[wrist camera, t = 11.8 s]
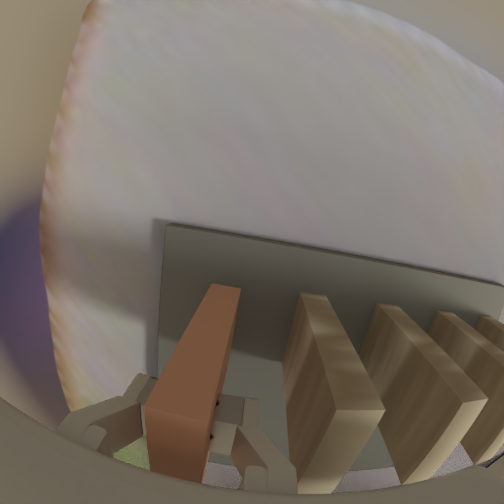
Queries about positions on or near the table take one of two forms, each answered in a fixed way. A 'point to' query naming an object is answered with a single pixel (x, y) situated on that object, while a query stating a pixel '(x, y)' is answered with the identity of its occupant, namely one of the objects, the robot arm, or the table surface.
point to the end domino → (191, 389)
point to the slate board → (284, 305)
